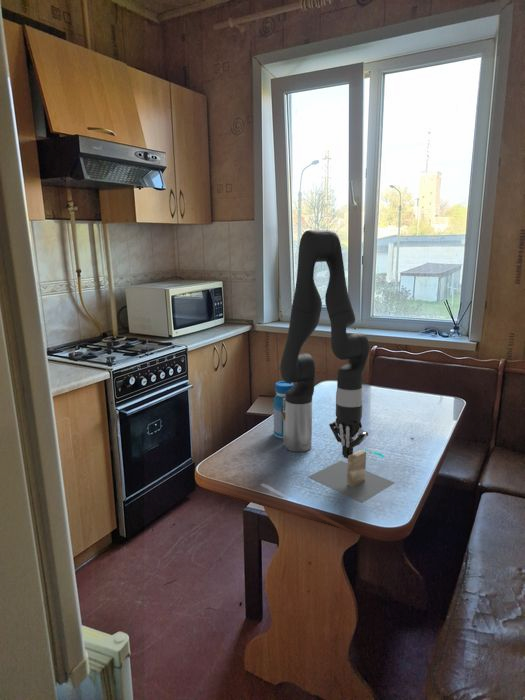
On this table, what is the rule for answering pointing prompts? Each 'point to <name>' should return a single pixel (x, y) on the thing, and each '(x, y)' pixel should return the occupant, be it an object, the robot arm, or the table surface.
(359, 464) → the maple picture frame
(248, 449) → the table surface
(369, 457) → the table surface
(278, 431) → the beverage bottle
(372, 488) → the rubber mat
